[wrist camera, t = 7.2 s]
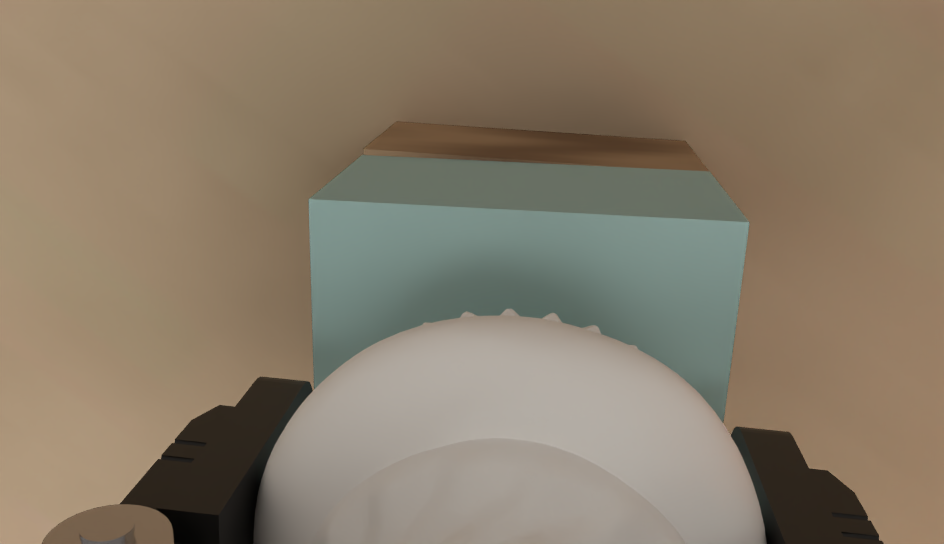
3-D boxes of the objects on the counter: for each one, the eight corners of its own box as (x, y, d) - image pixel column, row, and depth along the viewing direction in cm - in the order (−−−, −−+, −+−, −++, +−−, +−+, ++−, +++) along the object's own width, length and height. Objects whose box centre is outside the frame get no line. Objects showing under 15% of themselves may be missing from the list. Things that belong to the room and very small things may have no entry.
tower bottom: (684, 139, 21) (710, 173, 17) (651, 401, 23) (667, 481, 20) (398, 120, 22) (363, 148, 18) (391, 378, 24) (359, 451, 20)
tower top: (709, 171, 17) (749, 222, 14) (673, 481, 20) (699, 598, 16) (362, 154, 18) (308, 199, 14) (364, 456, 20) (318, 564, 16)
